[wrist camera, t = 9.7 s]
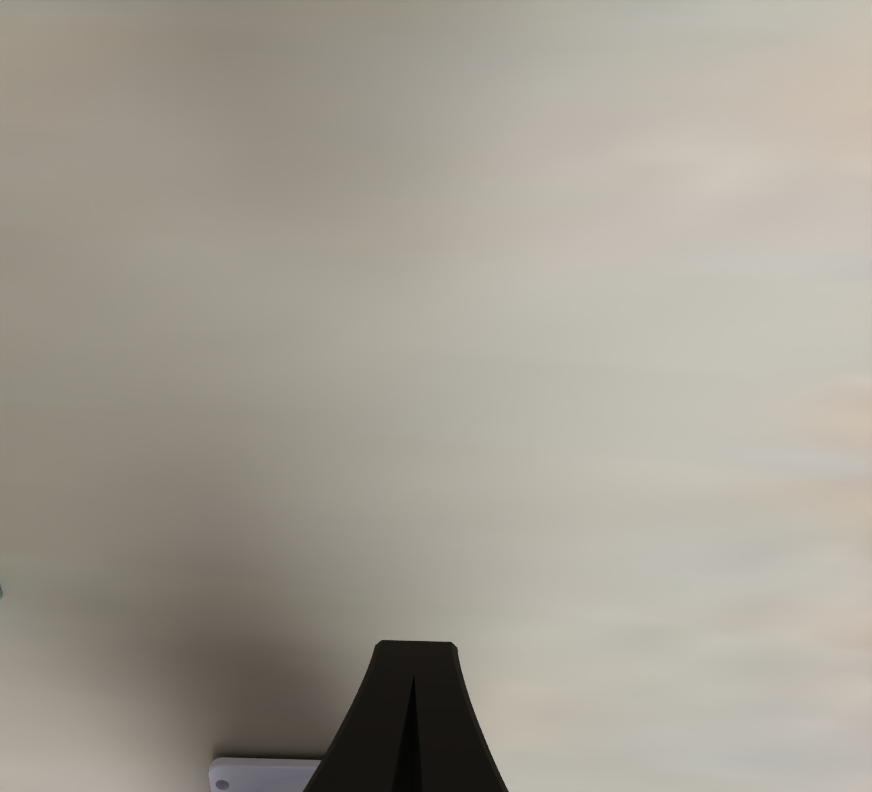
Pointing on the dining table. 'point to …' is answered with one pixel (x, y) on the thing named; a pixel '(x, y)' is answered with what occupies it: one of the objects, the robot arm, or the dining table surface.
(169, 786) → the dining table surface
